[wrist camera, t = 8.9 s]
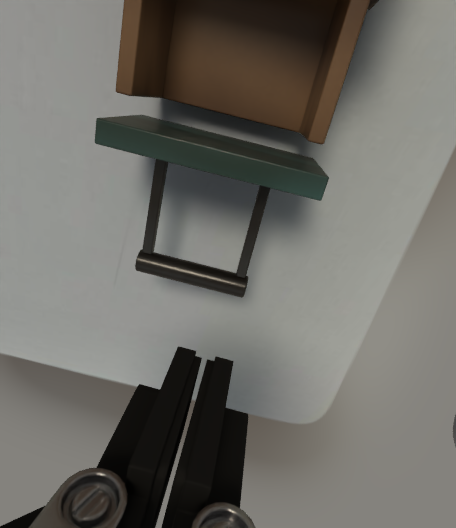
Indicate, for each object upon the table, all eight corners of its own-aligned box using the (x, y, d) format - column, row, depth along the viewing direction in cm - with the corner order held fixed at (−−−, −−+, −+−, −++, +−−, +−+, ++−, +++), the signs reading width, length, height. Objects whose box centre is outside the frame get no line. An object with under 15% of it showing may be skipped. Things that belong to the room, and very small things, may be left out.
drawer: (275, 279, 27) (277, 330, 21) (125, 241, 27) (83, 281, 21) (391, -86, 19) (451, -180, 13) (173, -141, 19) (125, -262, 13)
